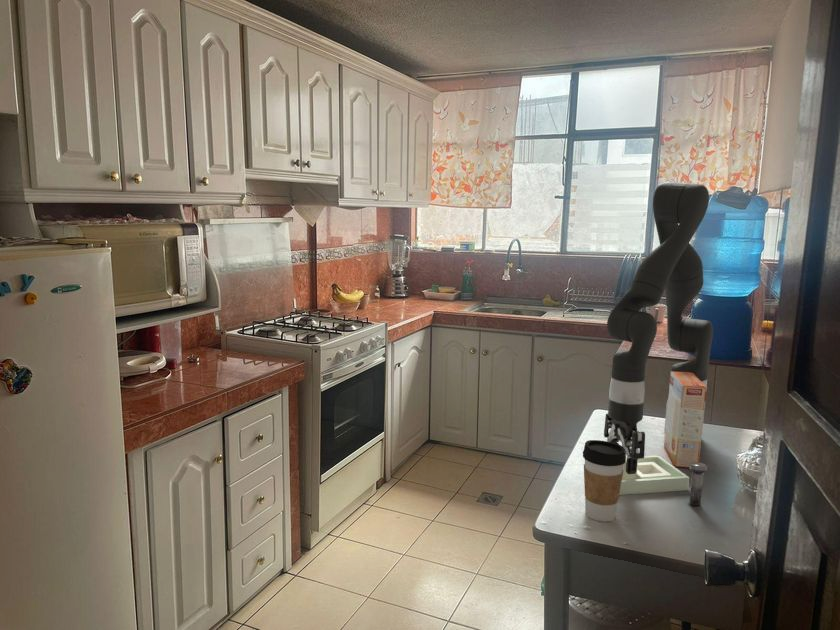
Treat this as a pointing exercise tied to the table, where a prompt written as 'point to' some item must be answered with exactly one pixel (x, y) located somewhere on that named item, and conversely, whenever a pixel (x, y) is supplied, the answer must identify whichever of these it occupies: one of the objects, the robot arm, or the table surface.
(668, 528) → the table surface
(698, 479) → the grey bolt
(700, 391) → the cracker box
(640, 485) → the tray
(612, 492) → the coffee cup
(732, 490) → the table surface
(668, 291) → the robot arm
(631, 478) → the cream stepped holder
